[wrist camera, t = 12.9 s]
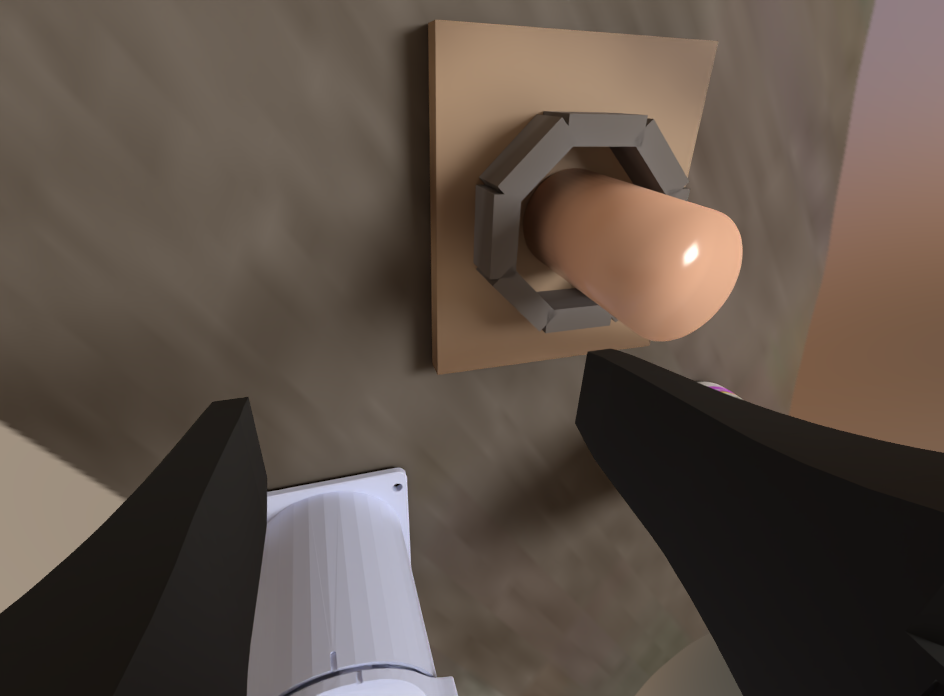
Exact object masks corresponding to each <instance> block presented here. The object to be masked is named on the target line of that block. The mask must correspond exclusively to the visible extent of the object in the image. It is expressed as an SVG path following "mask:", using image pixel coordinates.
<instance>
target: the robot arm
mask: <svg viewBox="0 0 944 696" xmlns="http://www.w3.org/2000/svg"><path fill="white" fill-rule="evenodd" d="M575 424H576V426H577V428H578V430H579V431H580V433H581V435H582V437H583V439H584V441H585V443H586V445H587V447H588V448H589V450H590V452H591V454H592V455H593V457H594V459H595V460H596V462H597V463H598V465H599V466H600V467H601V469H602V470H603V471H604V473H605V474H606V476H607V477H608V478H609V480H610V481H611V482H612V484H613V485H614V486H615V488H616V489H617V490H618V492H619V493H620V494H621V496H622V497H623V498H624V500H625V501H626V502H627V504H628V505H629V506H630V508H631V509H632V510H633V512H634V513H635V514H636V516H637V517H638V518H639V520H640V521H641V522H642V524H643V525H644V526H645V528H646V529H647V530H648V532H649V533H650V535H651V536H652V537H653V539H654V540H655V542H656V543H657V544H658V546H659V547H660V549H661V550H662V552H663V553H664V555H665V556H666V558H667V559H668V561H669V563H670V564H671V566H672V568H673V569H674V571H675V573H676V574H677V576H678V578H679V579H680V581H681V583H682V584H683V586H684V588H685V589H686V591H687V593H688V594H689V596H690V598H691V599H692V601H693V603H694V605H695V607H696V608H697V610H698V612H699V614H700V616H701V617H702V619H703V621H704V623H705V624H706V626H707V628H708V630H709V632H710V633H711V635H712V637H713V639H714V640H715V642H716V644H717V646H718V648H719V650H720V652H721V654H722V656H723V658H724V659H725V661H726V663H727V665H728V667H729V669H730V671H731V673H732V675H733V677H734V679H735V681H736V683H737V685H738V687H739V689H740V690H741V692H742V694H743V696H944V453H942V452H936V451H931V450H925V449H920V448H914V447H910V446H905V445H900V444H895V443H891V442H885V441H881V440H877V439H873V438H869V437H865V436H860V435H856V434H852V433H848V432H844V431H840V430H836V429H833V428H829V427H825V426H822V425H818V424H814V423H811V422H807V421H805V420H801V419H798V418H794V417H791V416H788V415H785V414H782V413H778V412H775V411H772V410H769V409H766V408H763V407H761V406H758V405H755V404H752V403H750V402H747V401H744V400H741V399H739V398H736V397H733V396H731V395H728V394H725V393H723V392H720V391H718V390H715V389H713V388H710V387H708V386H705V385H703V384H700V383H698V382H695V381H693V380H691V379H688V378H686V377H683V376H681V375H679V374H676V373H674V372H671V371H669V370H667V369H664V368H662V367H659V366H657V365H655V364H652V363H650V362H647V361H645V360H642V359H640V358H637V357H635V356H632V355H630V354H627V353H624V352H621V351H618V350H614V349H611V348H610V349H603V350H595V351H588V352H587V357H586V363H585V369H584V375H583V380H582V386H581V392H580V398H579V403H578V409H577V415H576V421H575ZM395 484H400V485H398V486H394V485H395ZM0 696H458V694H457V690H456V686H455V682H454V679H453V677H452V676H448V677H437V676H436V671H435V667H434V663H433V659H432V654H431V650H430V646H429V642H428V637H427V633H426V629H425V625H424V621H423V616H422V612H421V608H420V604H419V599H418V595H417V591H416V587H415V582H414V578H413V574H412V570H411V556H410V534H409V513H408V492H407V476H406V473H405V470H403V469H402V468H392V469H386V470H381V471H376V472H370V473H365V474H360V475H355V476H349V477H344V478H339V479H334V480H328V481H323V482H318V483H312V484H307V485H302V486H297V487H291V488H286V489H281V490H276V491H270V492H267V475H266V471H265V466H264V462H263V458H262V454H261V449H260V445H259V441H258V436H257V432H256V428H255V424H254V419H253V415H252V411H251V406H250V402H249V398H248V397H245V398H237V399H230V400H223V401H215V402H212V403H211V404H210V406H209V407H208V408H207V409H206V410H205V411H204V412H203V413H202V415H201V416H200V417H199V418H198V419H197V421H196V422H195V423H194V424H193V425H192V427H191V428H190V429H189V430H188V431H187V433H186V434H185V435H184V436H183V437H182V439H181V440H180V441H179V442H178V443H177V444H176V446H175V447H174V448H173V449H172V450H171V452H170V453H169V454H168V455H167V456H166V457H165V458H164V459H163V461H162V462H161V463H160V464H159V465H158V466H157V467H156V468H155V470H154V471H153V472H152V473H151V474H150V475H149V476H148V478H147V479H146V480H145V481H144V482H143V483H142V484H141V485H140V486H139V487H138V488H137V490H136V491H135V492H134V493H133V494H132V495H131V496H130V497H129V498H128V499H127V500H126V501H125V502H124V503H123V504H122V505H121V506H120V507H119V508H118V509H117V510H116V511H115V512H114V513H113V514H112V515H111V516H110V518H108V519H107V521H106V522H104V523H103V524H102V526H100V527H99V528H98V530H96V531H95V532H94V533H93V534H92V535H91V536H90V537H89V538H88V539H87V540H86V541H85V542H83V543H82V544H81V545H80V546H79V547H78V548H77V549H76V550H75V551H74V552H73V553H71V554H70V555H69V556H68V557H67V558H66V559H65V560H64V561H63V562H61V563H60V564H59V565H58V566H57V567H56V568H55V569H53V570H52V571H51V572H50V573H49V574H48V575H46V576H45V577H44V578H43V579H42V580H41V581H40V582H39V583H37V584H36V585H35V586H34V587H33V588H32V589H30V590H29V591H28V592H27V593H25V594H24V595H23V596H22V597H21V598H19V599H18V600H17V601H16V602H14V603H13V604H12V605H10V606H9V607H8V608H7V609H5V610H4V611H3V612H2V613H0Z"/></svg>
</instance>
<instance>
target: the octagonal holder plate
mask: <svg viewBox="0 0 944 696" xmlns="http://www.w3.org/2000/svg"><path fill="white" fill-rule="evenodd" d="M717 45H718V41H709V40H696V39H683V38H670V37H656V36H643V35H630V34H617V33H604V32H591V31H578V30H565V29H552V28H538V27H525V26H512V25H499V24H486V23H473V22H460V21H447V20H434V21H432V22H430V23H428V51H429V133H430V214H431V296H432V364H433V366H434V368H435V370H436V372H437V374H438V375H440V374H447V373H454V372H462V371H469V370H476V369H483V368H491V367H498V366H505V365H512V364H519V363H527V362H534V361H541V360H548V359H556V358H563V357H570V356H577V355H585V354H587V352H588V351H595V350H603V349H610V348H611V349H614V350H621V349H628V348H635V347H642V346H649V345H650V340H648V339H645V338H643V337H641V336H640V335H638V334H636V333H635V332H634V331H632V330H631V329H630V328H628V327H627V326H626V325H624V324H623V323H622V322H621V321H619V320H618V319H617V318H615V317H614V316H613V315H611V314H610V313H609V312H607V311H606V310H605V309H603V308H602V307H601V306H599V305H598V304H597V303H595V302H594V301H593V300H591V299H590V298H589V297H587V296H586V295H585V294H583V293H582V292H581V291H579V290H578V289H577V288H575V287H574V286H573V285H571V284H570V283H569V282H567V281H566V280H565V279H563V278H562V277H561V276H559V275H558V274H557V273H555V272H554V271H553V270H551V269H550V268H549V267H547V266H546V265H545V264H543V263H542V262H541V261H539V260H538V259H537V258H536V257H535V256H534V255H533V254H532V253H531V252H530V250H529V248H528V246H527V244H526V241H525V237H524V231H523V222H524V215H525V211H526V208H527V205H528V203H529V201H530V199H531V197H532V195H533V194H534V192H535V190H536V189H537V188H538V187H539V186H540V185H541V184H542V183H543V182H544V181H545V180H546V179H547V178H549V177H550V176H552V175H553V174H555V173H557V172H559V171H562V170H565V169H570V168H582V169H586V170H590V171H593V172H596V173H599V174H602V175H605V176H609V177H612V178H615V179H618V180H621V181H624V182H628V183H631V184H634V185H637V186H640V187H643V188H646V189H650V190H653V191H656V192H659V193H662V194H665V195H669V196H672V197H675V198H678V199H681V200H684V201H687V200H688V196H689V192H690V189H689V188H685V186H686V184H687V183H688V182H689V180H688V178H687V177H688V173H689V169H690V164H691V160H692V155H693V151H694V147H695V142H696V138H697V133H698V129H699V125H700V120H701V116H702V111H703V107H704V103H705V98H706V94H707V89H708V85H709V81H710V76H711V72H712V67H713V63H714V59H715V54H716V50H717Z"/></svg>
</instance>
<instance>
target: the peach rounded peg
mask: <svg viewBox="0 0 944 696" xmlns="http://www.w3.org/2000/svg"><path fill="white" fill-rule="evenodd" d="M523 231H524V237H525V241H526V244H527V246H528V248H529V250H530V252H531V253H532V254H533V255H534V256H535V257H536V258H537V259H538V260H539V261H541V262H542V263H543V264H545V265H546V266H547V267H549V268H550V269H551V270H553V271H554V272H555V273H557V274H558V275H559V276H561V277H562V278H563V279H565V280H566V281H567V282H569V283H570V284H571V285H573V286H574V287H575V288H577V289H578V290H579V291H581V292H582V293H583V294H585V295H586V296H587V297H589V298H590V299H591V300H593V301H594V302H595V303H597V304H598V305H599V306H601V307H602V308H603V309H605V310H606V311H607V312H609V313H610V314H611V315H613V316H614V317H615V318H617V319H618V320H619V321H621V322H622V323H623V324H624V325H626V326H627V327H628V328H630V329H631V330H632V331H634V332H635V333H636V334H638V335H640V336H641V337H643V338H645V339H648V340H652V341H670V340H674V339H678V338H681V337H683V336H685V335H688V334H690V333H691V332H693V331H695V330H696V329H698V328H699V327H701V326H702V325H703V324H705V323H706V322H707V321H708V320H709V319H710V318H711V317H712V316H713V315H714V314H715V313H716V312H717V311H718V310H719V309H720V308H721V306H722V305H723V304H724V302H725V301H726V299H727V298H728V296H729V295H730V293H731V291H732V289H733V287H734V285H735V283H736V280H737V278H738V275H739V271H740V267H741V262H742V240H741V236H740V233H739V231H738V229H737V227H736V225H735V224H734V222H733V221H732V220H731V219H730V218H729V217H728V216H726V215H725V214H723V213H721V212H719V211H716V210H713V209H710V208H707V207H703V206H700V205H697V204H694V203H691V202H688V201H684V200H681V199H678V198H675V197H672V196H669V195H665V194H662V193H659V192H656V191H653V190H650V189H646V188H643V187H640V186H637V185H634V184H631V183H628V182H624V181H621V180H618V179H615V178H612V177H609V176H605V175H602V174H599V173H596V172H593V171H590V170H586V169H582V168H570V169H565V170H562V171H559V172H557V173H555V174H553V175H552V176H550V177H549V178H547V179H546V180H545V181H544V182H543V183H542V184H541V185H540V186H539V187H538V188H537V189H536V190H535V192H534V194H533V195H532V197H531V199H530V201H529V203H528V205H527V208H526V211H525V215H524V222H523Z"/></svg>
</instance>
